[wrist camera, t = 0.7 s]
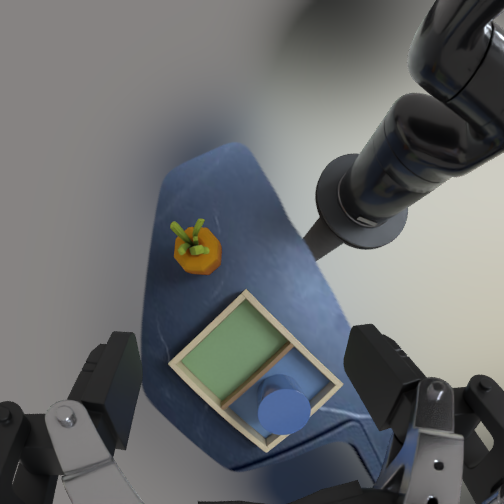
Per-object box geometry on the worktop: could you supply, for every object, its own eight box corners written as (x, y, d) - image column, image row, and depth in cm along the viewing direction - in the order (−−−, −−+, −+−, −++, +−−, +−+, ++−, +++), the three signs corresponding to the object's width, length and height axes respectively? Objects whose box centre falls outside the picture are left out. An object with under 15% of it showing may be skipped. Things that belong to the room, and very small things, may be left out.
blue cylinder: (279, 365, 36) (285, 378, 29) (309, 393, 35) (321, 410, 28) (246, 394, 35) (246, 413, 28) (277, 421, 34) (283, 443, 27)
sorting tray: (246, 290, 38) (246, 288, 35) (337, 378, 36) (343, 384, 33) (173, 359, 36) (167, 363, 33) (265, 443, 34) (266, 453, 31)
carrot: (187, 252, 39) (152, 222, 24) (221, 240, 39) (205, 203, 25) (198, 286, 38) (167, 275, 24) (233, 274, 39) (222, 256, 24)
